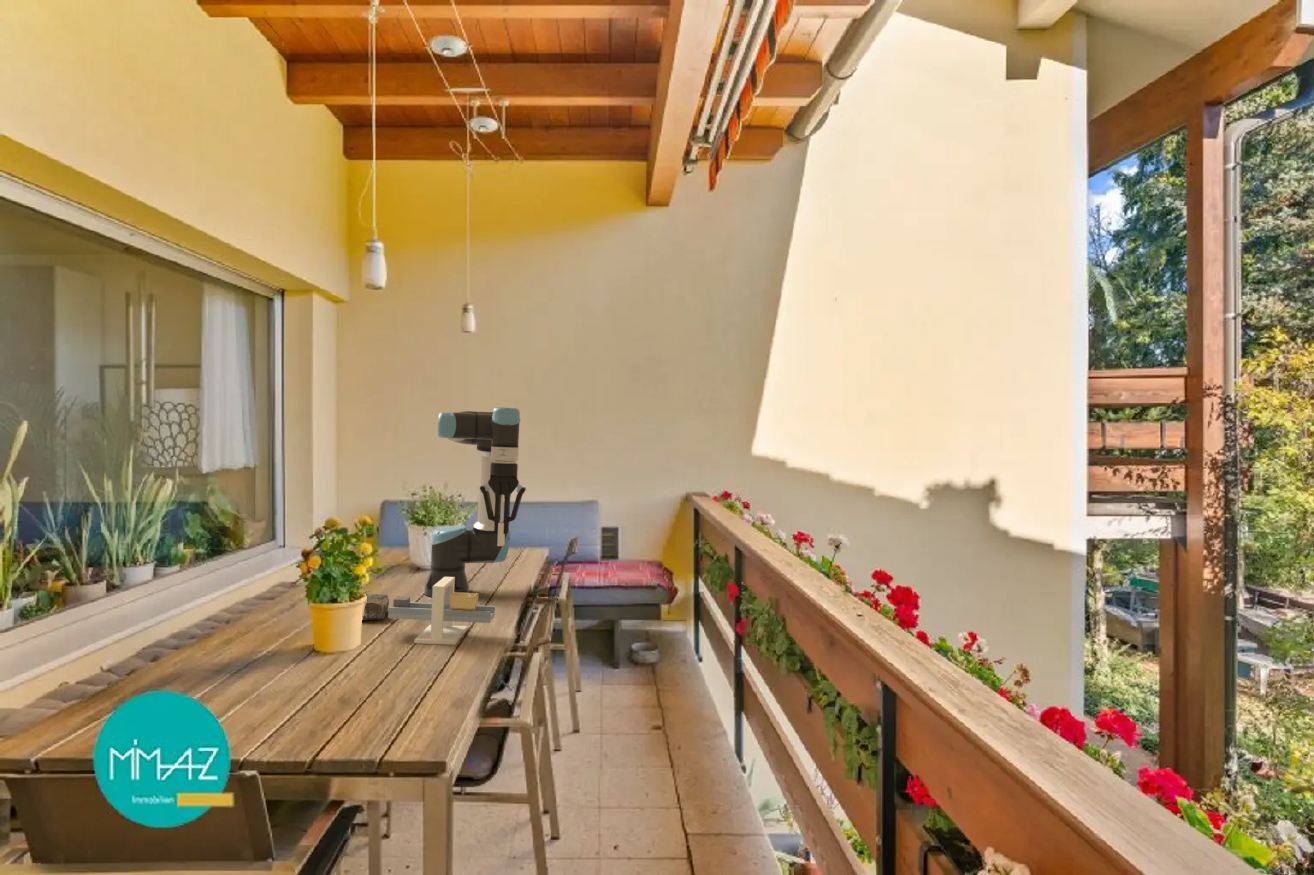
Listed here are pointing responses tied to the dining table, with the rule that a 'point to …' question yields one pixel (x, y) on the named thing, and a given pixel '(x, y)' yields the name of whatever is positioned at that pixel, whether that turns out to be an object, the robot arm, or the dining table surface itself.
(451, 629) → the stand
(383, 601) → the rock
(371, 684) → the dining table surface
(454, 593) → the block
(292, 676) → the dining table surface
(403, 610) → the beam
